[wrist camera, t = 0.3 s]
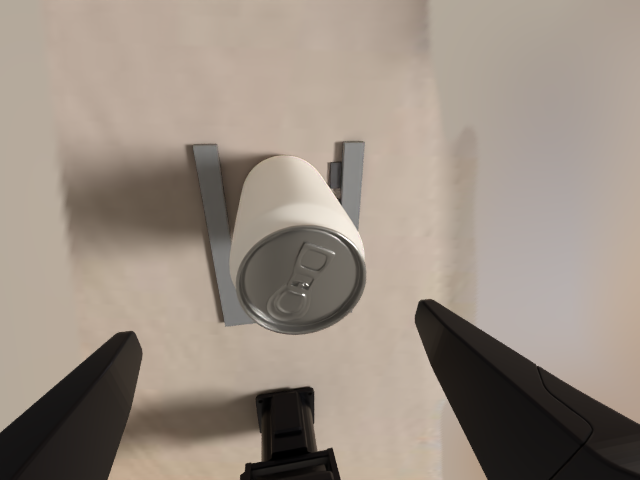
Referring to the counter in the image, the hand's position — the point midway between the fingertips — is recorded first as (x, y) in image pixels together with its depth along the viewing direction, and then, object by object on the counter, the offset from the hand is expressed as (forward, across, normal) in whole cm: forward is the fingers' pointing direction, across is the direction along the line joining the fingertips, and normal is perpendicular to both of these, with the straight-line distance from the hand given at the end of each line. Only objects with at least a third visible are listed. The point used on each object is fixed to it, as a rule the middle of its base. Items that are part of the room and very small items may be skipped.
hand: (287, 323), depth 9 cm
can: (+15, -1, +2) cm, 15 cm away
